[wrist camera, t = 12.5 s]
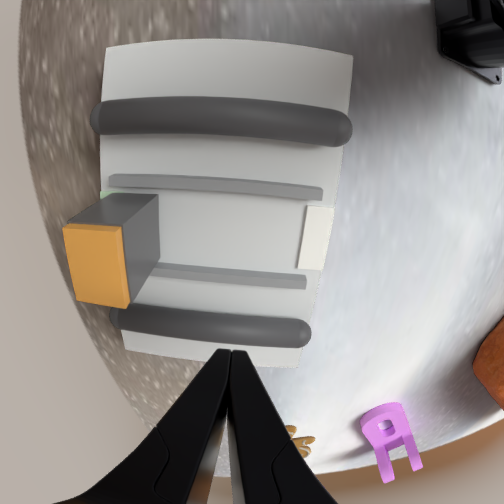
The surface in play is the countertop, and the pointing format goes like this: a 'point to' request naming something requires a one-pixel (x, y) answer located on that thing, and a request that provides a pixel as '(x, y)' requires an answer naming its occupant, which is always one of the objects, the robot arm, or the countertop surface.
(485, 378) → the bread
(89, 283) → the toggle
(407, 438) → the bracket
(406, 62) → the countertop surface
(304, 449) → the cookie
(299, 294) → the panel
